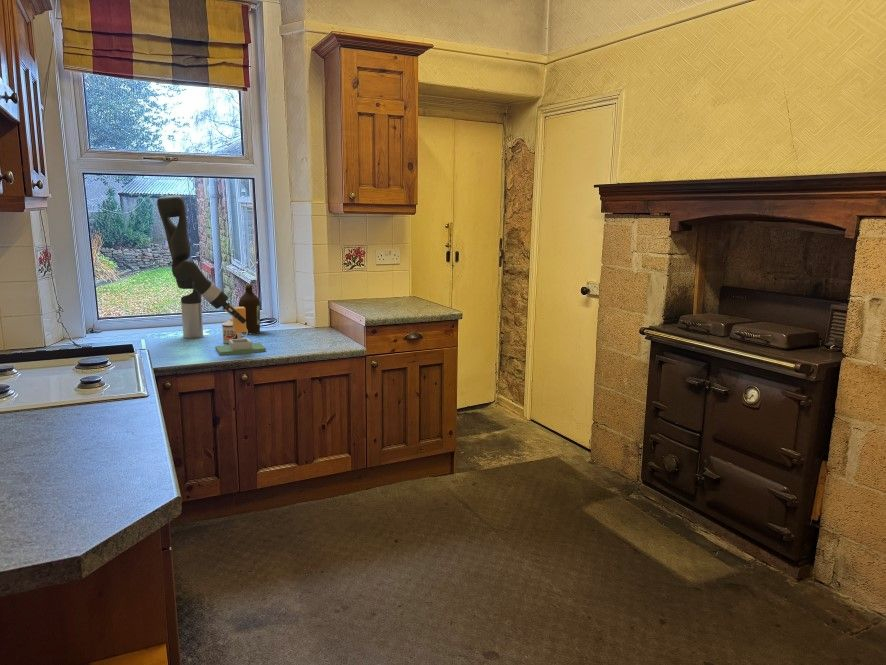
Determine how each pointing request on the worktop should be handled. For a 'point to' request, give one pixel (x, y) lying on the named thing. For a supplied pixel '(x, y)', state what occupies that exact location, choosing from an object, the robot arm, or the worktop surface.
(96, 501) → the worktop surface
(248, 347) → the deck plate
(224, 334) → the teacup with lid
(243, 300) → the olive oil
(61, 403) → the worktop surface
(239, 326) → the orange wooden block
